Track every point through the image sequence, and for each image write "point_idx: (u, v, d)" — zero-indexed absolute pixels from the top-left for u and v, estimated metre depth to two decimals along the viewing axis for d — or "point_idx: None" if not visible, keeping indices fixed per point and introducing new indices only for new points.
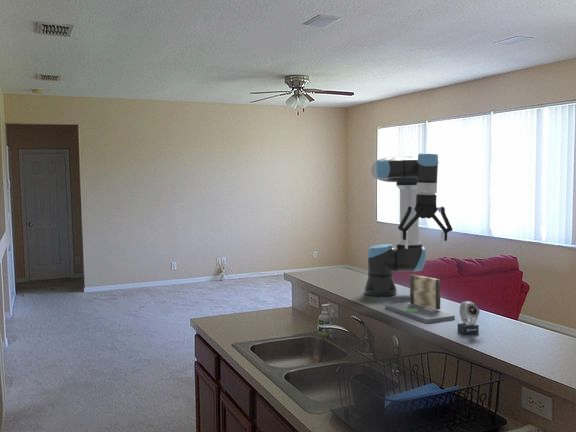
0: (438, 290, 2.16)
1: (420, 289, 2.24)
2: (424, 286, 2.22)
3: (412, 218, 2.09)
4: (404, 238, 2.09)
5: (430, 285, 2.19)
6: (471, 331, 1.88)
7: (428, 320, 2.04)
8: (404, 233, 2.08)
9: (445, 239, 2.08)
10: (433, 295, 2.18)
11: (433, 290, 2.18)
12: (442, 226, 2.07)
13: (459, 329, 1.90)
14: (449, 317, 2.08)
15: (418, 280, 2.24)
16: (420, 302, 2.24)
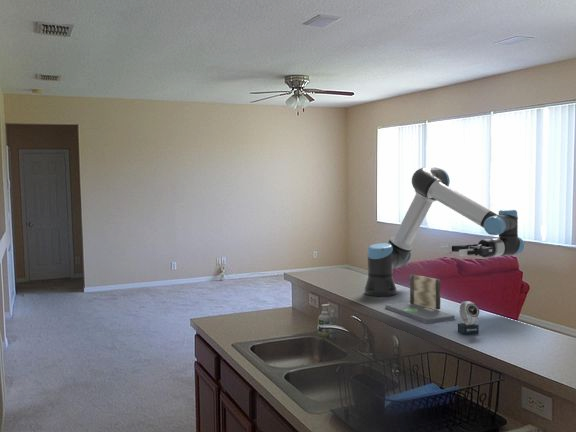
0: (438, 290, 2.16)
1: (420, 289, 2.24)
2: (424, 286, 2.22)
3: (479, 248, 2.21)
4: (469, 254, 2.15)
5: (430, 285, 2.19)
6: (471, 331, 1.88)
7: (428, 320, 2.04)
8: (473, 254, 2.16)
9: None
10: (433, 295, 2.18)
11: (433, 290, 2.18)
12: None
13: (459, 329, 1.90)
14: (449, 317, 2.08)
15: (418, 280, 2.24)
16: (420, 302, 2.24)
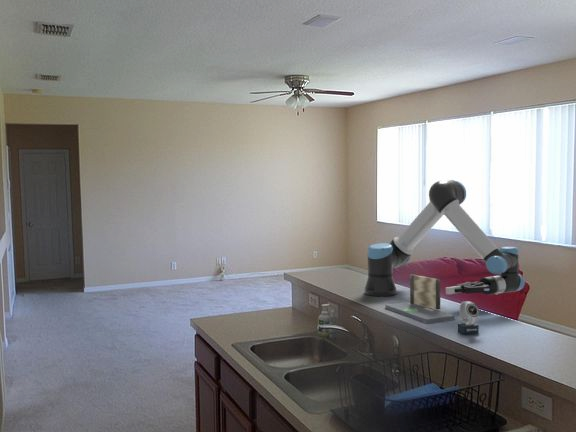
0: (438, 290, 2.16)
1: (420, 289, 2.24)
2: (424, 286, 2.22)
3: (474, 286, 2.24)
4: None
5: (430, 285, 2.19)
6: (471, 331, 1.88)
7: (428, 320, 2.04)
8: None
9: None
10: (433, 295, 2.18)
11: (433, 290, 2.18)
12: None
13: (459, 329, 1.90)
14: (449, 317, 2.08)
15: (418, 280, 2.24)
16: (420, 302, 2.24)
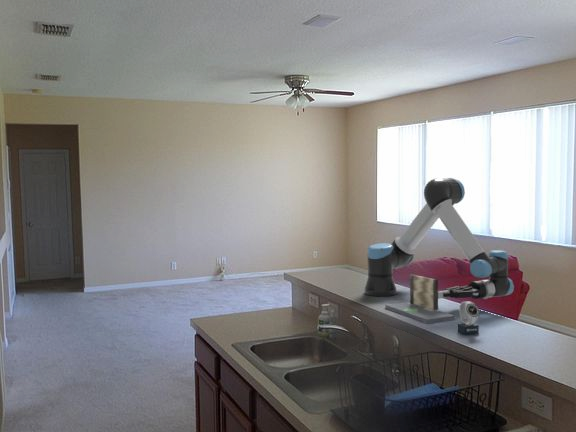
0: (435, 290, 2.16)
1: (419, 290, 2.23)
2: (423, 286, 2.22)
3: (462, 291, 2.21)
4: None
5: (428, 285, 2.19)
6: (471, 331, 1.88)
7: (428, 320, 2.04)
8: None
9: None
10: (431, 295, 2.17)
11: (431, 290, 2.17)
12: None
13: (459, 329, 1.90)
14: (449, 317, 2.08)
15: (417, 280, 2.24)
16: (419, 303, 2.24)
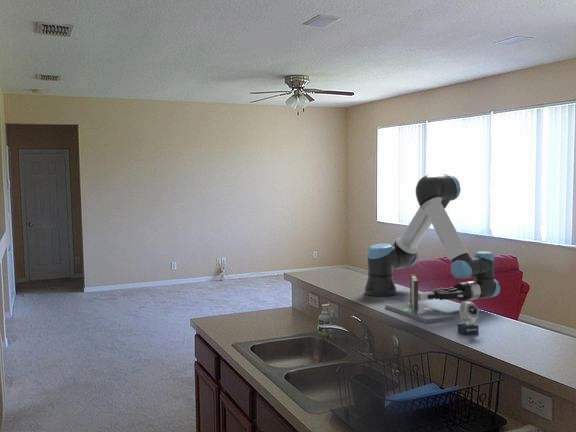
0: (415, 291, 2.14)
1: (412, 290, 2.23)
2: (412, 286, 2.21)
3: (447, 292, 2.19)
4: None
5: (413, 286, 2.18)
6: (471, 331, 1.88)
7: (428, 320, 2.04)
8: None
9: None
10: (413, 296, 2.17)
11: (413, 291, 2.17)
12: None
13: (459, 329, 1.90)
14: (449, 317, 2.08)
15: None
16: (412, 303, 2.24)
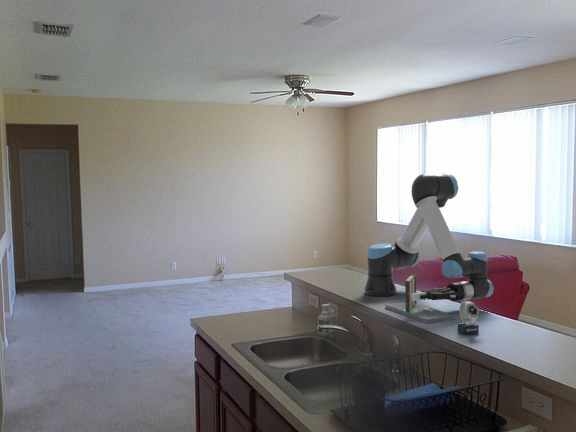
0: (406, 291, 2.15)
1: None
2: None
3: (440, 293, 2.18)
4: None
5: None
6: (471, 331, 1.88)
7: (428, 320, 2.04)
8: None
9: None
10: None
11: None
12: None
13: (459, 329, 1.90)
14: (449, 317, 2.08)
15: None
16: None
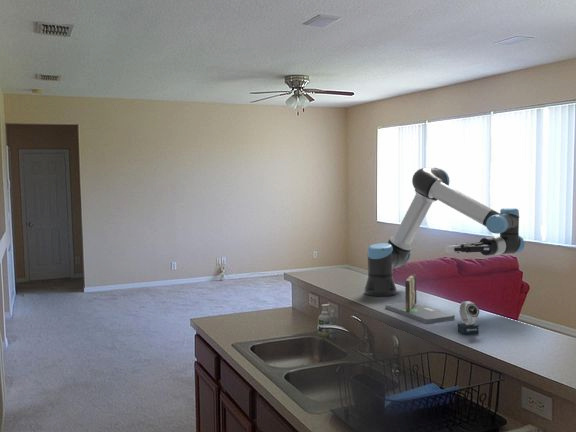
0: (406, 291, 2.15)
1: None
2: None
3: (473, 246, 2.23)
4: (456, 251, 2.21)
5: None
6: (471, 331, 1.88)
7: (428, 320, 2.04)
8: (460, 250, 2.21)
9: None
10: None
11: None
12: None
13: (459, 329, 1.90)
14: (449, 317, 2.08)
15: None
16: None
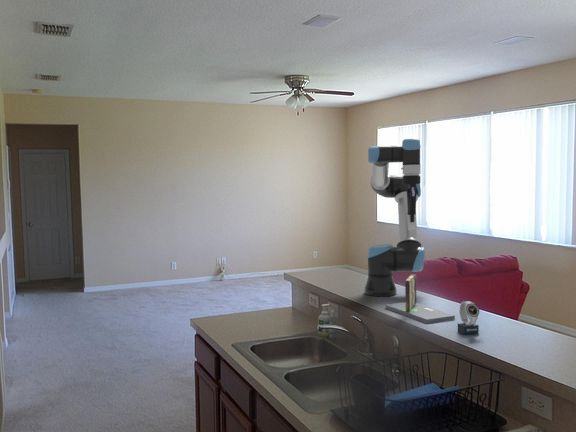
0: (406, 291, 2.15)
1: None
2: None
3: None
4: None
5: None
6: (471, 331, 1.88)
7: (428, 320, 2.04)
8: None
9: (410, 220, 2.33)
10: None
11: None
12: (409, 208, 2.33)
13: (459, 329, 1.90)
14: (449, 317, 2.08)
15: None
16: None
